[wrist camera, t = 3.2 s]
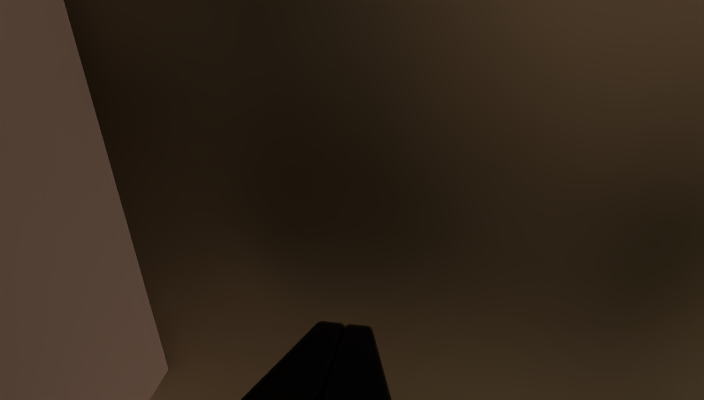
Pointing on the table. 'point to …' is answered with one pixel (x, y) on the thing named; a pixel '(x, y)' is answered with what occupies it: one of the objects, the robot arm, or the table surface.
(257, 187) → the table surface
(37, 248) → the beige rectangular block
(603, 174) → the table surface
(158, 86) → the table surface
